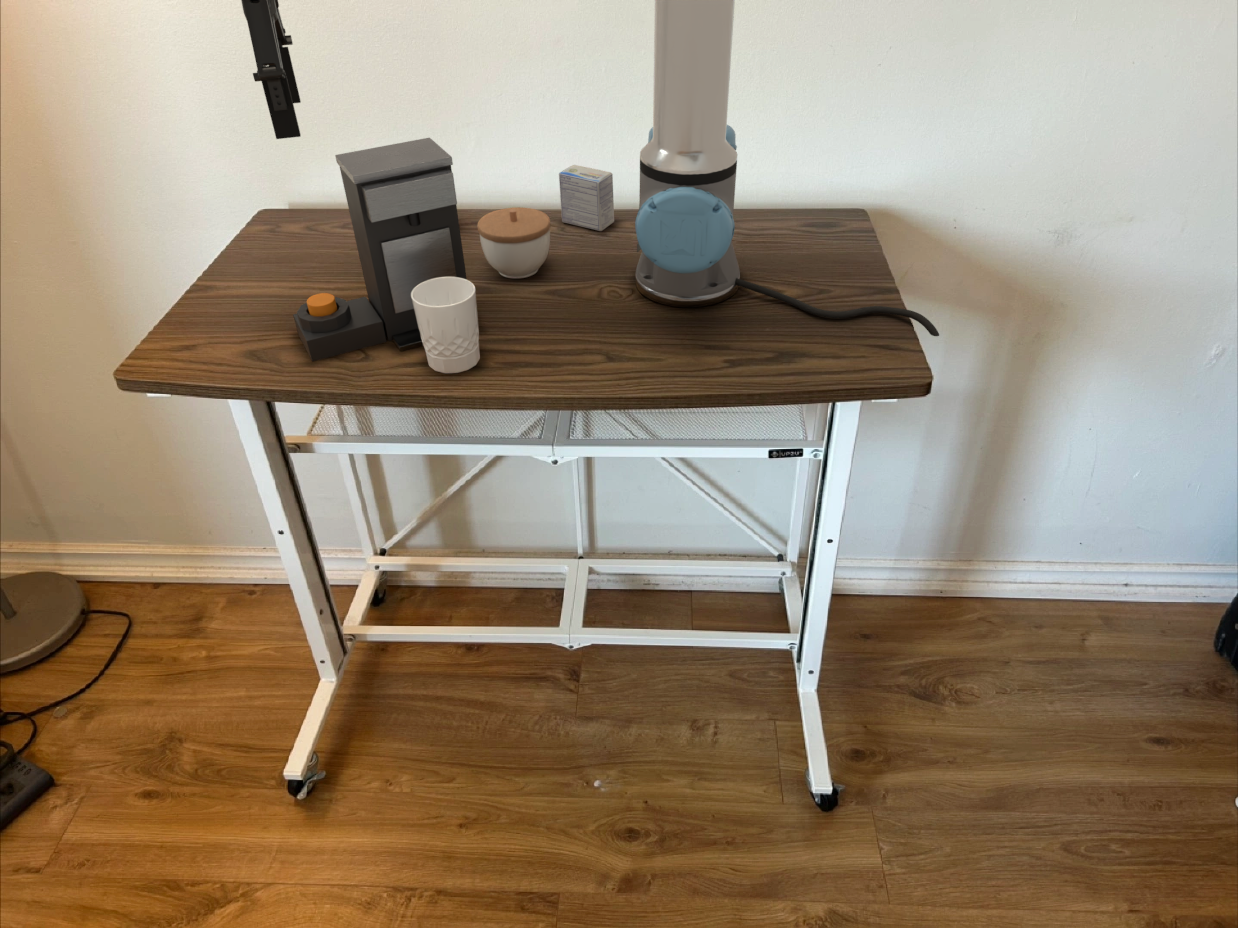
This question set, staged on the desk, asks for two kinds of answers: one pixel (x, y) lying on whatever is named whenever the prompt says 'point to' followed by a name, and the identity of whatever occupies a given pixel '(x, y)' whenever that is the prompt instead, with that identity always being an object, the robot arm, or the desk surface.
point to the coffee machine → (402, 227)
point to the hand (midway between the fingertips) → (289, 119)
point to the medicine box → (586, 197)
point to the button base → (339, 328)
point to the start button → (321, 304)
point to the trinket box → (515, 240)
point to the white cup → (448, 323)
